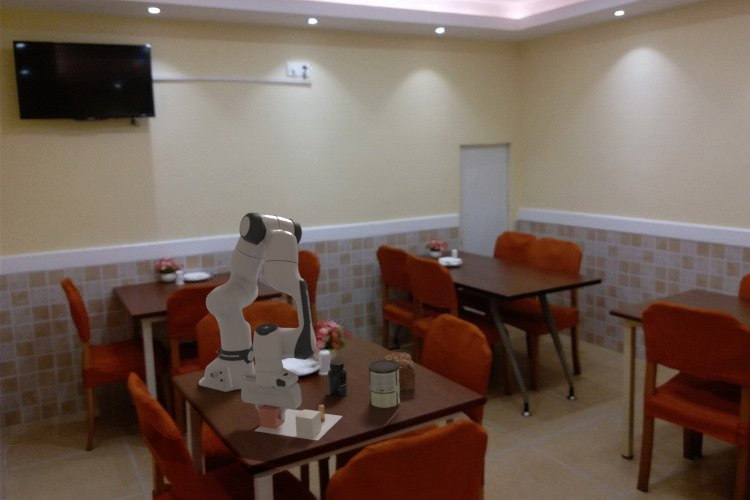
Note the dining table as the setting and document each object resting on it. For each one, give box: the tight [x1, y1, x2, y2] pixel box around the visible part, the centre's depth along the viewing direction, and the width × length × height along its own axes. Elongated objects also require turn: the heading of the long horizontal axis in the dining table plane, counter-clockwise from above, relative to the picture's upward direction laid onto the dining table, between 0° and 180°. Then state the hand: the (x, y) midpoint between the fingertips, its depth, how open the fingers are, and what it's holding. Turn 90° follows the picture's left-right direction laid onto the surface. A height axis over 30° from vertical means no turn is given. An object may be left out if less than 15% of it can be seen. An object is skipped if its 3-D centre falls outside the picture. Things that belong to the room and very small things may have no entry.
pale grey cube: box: [296, 408, 321, 438], centre depth 200 cm, size 6×6×6 cm
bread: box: [383, 352, 416, 392], centre depth 241 cm, size 19×11×10 cm, turn 2°
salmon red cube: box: [258, 405, 285, 429], centre depth 207 cm, size 6×6×6 cm
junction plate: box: [254, 408, 343, 441], centre depth 207 cm, size 22×18×1 cm
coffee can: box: [368, 359, 401, 409], centre depth 220 cm, size 10×10×14 cm
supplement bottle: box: [327, 360, 348, 398], centre depth 230 cm, size 7×7×12 cm
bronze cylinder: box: [317, 403, 326, 422], centre depth 208 cm, size 2×2×5 cm
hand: (272, 417), depth 207 cm, fingers closed on salmon red cube, 6 cm apart
